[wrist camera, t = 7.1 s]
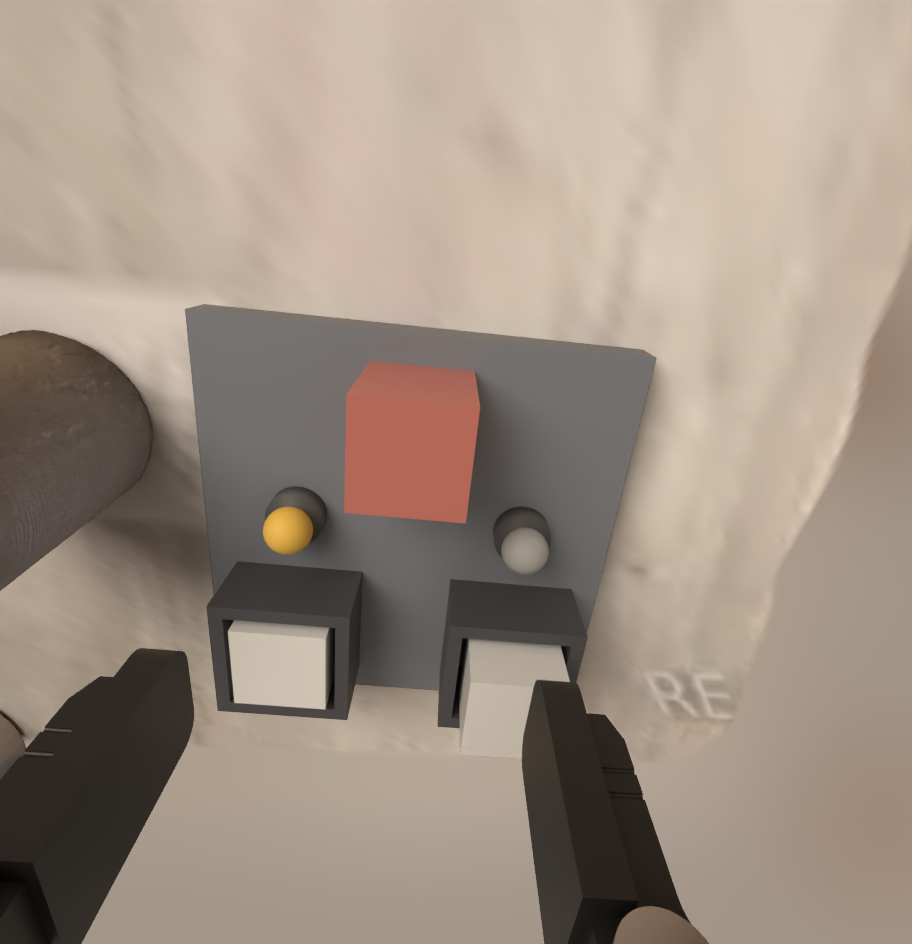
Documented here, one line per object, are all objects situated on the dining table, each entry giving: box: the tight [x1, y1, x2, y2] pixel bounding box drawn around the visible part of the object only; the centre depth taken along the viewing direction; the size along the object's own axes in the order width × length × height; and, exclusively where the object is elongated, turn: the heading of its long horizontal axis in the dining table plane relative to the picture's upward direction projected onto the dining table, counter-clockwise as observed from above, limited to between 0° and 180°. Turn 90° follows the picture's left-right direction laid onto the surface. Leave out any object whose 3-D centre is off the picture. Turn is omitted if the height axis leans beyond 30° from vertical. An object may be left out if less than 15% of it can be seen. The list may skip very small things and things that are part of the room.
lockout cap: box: [344, 361, 480, 524], centre depth 23 cm, size 5×5×6 cm
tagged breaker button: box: [228, 620, 335, 709], centre depth 29 cm, size 5×5×4 cm
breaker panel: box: [185, 304, 656, 728], centre depth 28 cm, size 22×22×6 cm
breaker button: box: [459, 638, 570, 759], centre depth 27 cm, size 5×5×4 cm
